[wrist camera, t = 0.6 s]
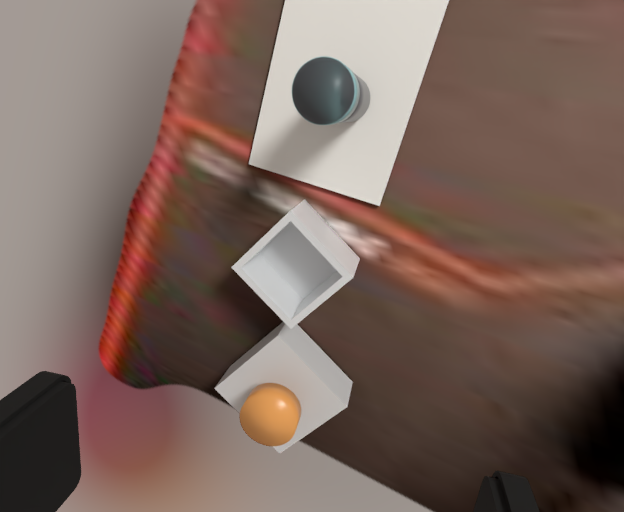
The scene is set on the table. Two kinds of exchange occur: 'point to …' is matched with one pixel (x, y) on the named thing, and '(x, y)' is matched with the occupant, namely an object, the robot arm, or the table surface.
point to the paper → (365, 64)
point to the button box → (290, 377)
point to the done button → (270, 414)
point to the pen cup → (297, 264)
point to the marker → (329, 92)
